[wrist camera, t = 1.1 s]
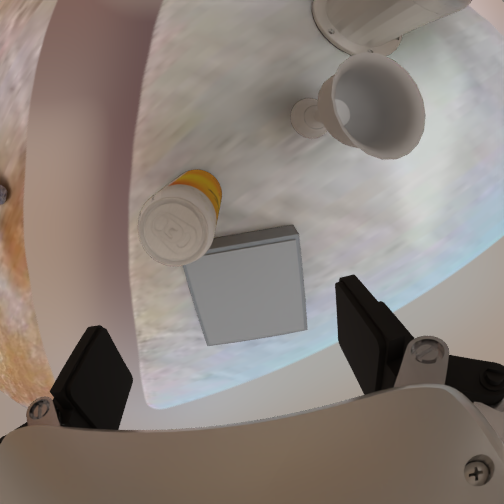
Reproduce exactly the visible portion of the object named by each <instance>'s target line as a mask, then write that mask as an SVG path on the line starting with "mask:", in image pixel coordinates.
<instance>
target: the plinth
mask: <svg viewBox="0 0 504 504" xmlns="http://www.w3.org/2000/svg"><path fill="white" fill-rule="evenodd" d="M183 268H184V272H185V275H186V279H187V282H188V286H189V289H190V293H191V296H192V299H193V303H194V306H195V309H196V312H197V316H198V319H199V322H200V325H201V328H202V331H203V334H204V337H205V340H206V343H207V346H212V345H220V344H227V343H234V342H241V341H247V340H254V339H260V338H266V337H272V336H277V335H283V334H288V333H294V332H299V331H304V330H307V316H306V303H305V291H304V279H303V268H302V258H301V248H300V239H299V233H298V232H297V230H296V229H295V227H294V225H289V226H283V227H277V228H271V229H265V230H259V231H253V232H247V233H242V234H236V235H230V236H224V237H219V238H214V239H213V242H212V244H211V246H210V248H209V249H208V251H207V252H206V253H205V254H204V255H203V256H202V257H201V258H199V259H198V260H196V261H194V262H192V263H189V264H186V265H183Z"/></svg>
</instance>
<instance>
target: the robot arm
mask: <svg viewBox="0 0 504 504" xmlns="http://www.w3.org/2000/svg"><path fill="white" fill-rule="evenodd" d="M471 1H472V0H313V4H312V13H313V16H314V20H315V22H316V24H317V26H318V28H319V29H320V31H321V32H322V34H323V35H324V36H325V37H326V38H327V39H328V40H329V41H330V42H331V43H332V44H333V45H335V46H336V47H337V48H339V49H341V50H342V51H344V52H346V53H348V54H350V55H356V54H360V53H363V52H369V53H377V54H381V55H384V56H387V55H389V54H391V53H392V52H394V51H395V50H396V49H397V47H398V46H399V45H400V42H401V39H402V35H404V34H406V33H408V32H410V31H412V30H414V29H417V28H419V27H421V26H423V25H426V24H428V23H430V22H433V21H435V20H438V19H440V18H443V17H445V16H448V15H450V14H452V13H455V12H458V11H460V10H462V9H464V8H466V7H467V6H468V5H469V4H470V3H471ZM502 1H503V2H504V0H502ZM328 32H330V33H331V34H329V33H328ZM335 290H336V305H337V324H338V340H339V344H340V346H341V349H342V351H343V353H344V355H345V357H346V358H347V361H348V362H349V364H350V366H351V368H352V370H353V372H354V374H355V377H356V378H357V381H358V382H359V385H360V387H361V389H362V391H363V393H364V395H363V396H359V397H355V398H351V399H348V400H345V401H341V402H337V403H333V404H330V405H326V406H322V407H318V408H314V409H309V410H305V411H300V412H296V413H291V414H287V415H282V416H277V417H272V418H266V419H260V420H254V421H248V422H241V423H234V424H227V425H219V426H209V427H199V428H186V429H169V430H118V429H119V425H120V422H121V419H122V415H123V412H124V408H125V405H126V402H127V399H128V395H129V392H130V389H131V386H132V383H133V378H132V375H131V373H130V371H129V369H128V368H127V366H126V364H125V363H124V361H123V359H122V357H121V355H120V354H119V352H118V350H117V348H116V346H115V344H114V343H113V341H112V339H111V337H110V335H109V333H108V331H107V330H106V329H105V328H103V327H102V326H100V325H98V326H91V327H88V328H87V330H86V331H85V333H84V334H83V336H82V337H81V339H80V341H79V342H78V344H77V345H76V347H75V349H74V350H73V352H72V354H71V355H70V357H69V359H68V360H67V362H66V364H65V365H64V367H63V369H62V371H61V372H60V374H59V376H58V378H57V380H56V381H55V383H54V385H53V387H52V388H51V390H50V393H51V394H52V395H53V396H54V399H53V400H52V399H51V398H49V397H40V398H38V399H36V400H35V401H33V402H32V403H31V404H30V406H29V407H28V409H27V413H26V417H27V422H26V423H25V424H23V425H22V426H20V427H18V428H17V429H15V430H14V431H12V432H10V433H9V434H7V435H5V436H3V437H2V438H0V504H504V366H503V365H501V364H498V363H494V362H488V361H482V360H475V359H470V358H464V357H458V356H452V355H449V348H448V346H447V344H446V343H445V342H444V341H443V340H441V339H439V338H437V337H433V336H421V337H417V338H415V339H414V337H413V336H412V335H411V334H410V333H409V331H408V330H407V329H406V328H405V327H404V325H403V324H402V323H401V322H400V321H399V320H398V318H397V317H396V316H395V315H394V314H393V313H392V311H391V310H390V309H389V308H388V307H387V306H386V304H385V303H383V302H382V301H380V302H378V301H377V300H376V299H375V298H374V296H373V295H372V294H371V293H370V292H369V291H368V289H367V288H366V287H365V286H364V285H363V284H362V283H361V281H360V280H359V279H358V278H357V277H356V276H355V275H350V276H346V277H342V278H340V279H339V282H337V283H336V284H335Z"/></svg>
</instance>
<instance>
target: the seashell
mask: <svg viewBox="0 0 504 504" xmlns="http://www.w3.org/2000/svg"><path fill="white" fill-rule="evenodd" d="M6 196H7V190H6V188H5V187H4V186H2V185H0V204H3V203H4V202H5V201H6Z"/></svg>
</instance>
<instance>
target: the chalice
mask: <svg viewBox="0 0 504 504" xmlns="http://www.w3.org/2000/svg"><path fill="white" fill-rule="evenodd" d="M290 117H291V123H292V125H293V127H294V129H295V130H296V131H297V132H298V133H299V134H300V135H302V136H304V137H307V138H318V137H320V136H323V135H324V134H325V133H326V132H327V131H328V132H329V133H330V134H331V135H332V136H333V137H334V138H335V139H337V140H338V141H340V142H341V143H343V144H345V145H349V146H352V147H356V148H360V149H361V150H363V151H364V152H365V153H367V154H368V155H371V156H374V157H377V158H380V159H398V158H400V157H403V156H405V155H407V154H409V153H410V152H411V151H412V150H413V149H414V148H415V147H416V146H417V145H418V143H419V141H420V139H421V136H422V134H423V132H424V125H425V109H424V103H423V99H422V96H421V94H420V91H419V89H418V87H417V84H416V83H415V82H414V80H413V79H412V77H411V76H410V75H409V73H408V72H407V71H406V70H405V69H404V68H403V67H401V66H400V65H399V64H398V63H397V62H396V61H394V60H392V59H390V58H388V57H386V56H384V55H381V54H377V53H369V52H363V53H360V54H356V55H352V56H350V57H349V58H348V59H347V60H345V61H344V62H343V63H342V64H341V65H340V66H339V68H338V70H337V72H336V74H335V75H333V76H331V77H330V78H329V79H328V80H327V81H325V82H324V83H323V85H322V87H321V89H320V91H319V94H318V100H317V99H312V98H306V99H303V100H300V101H299V102H297V103H296V104H295V105H294V107H293V109H292V111H291V116H290Z"/></svg>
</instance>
